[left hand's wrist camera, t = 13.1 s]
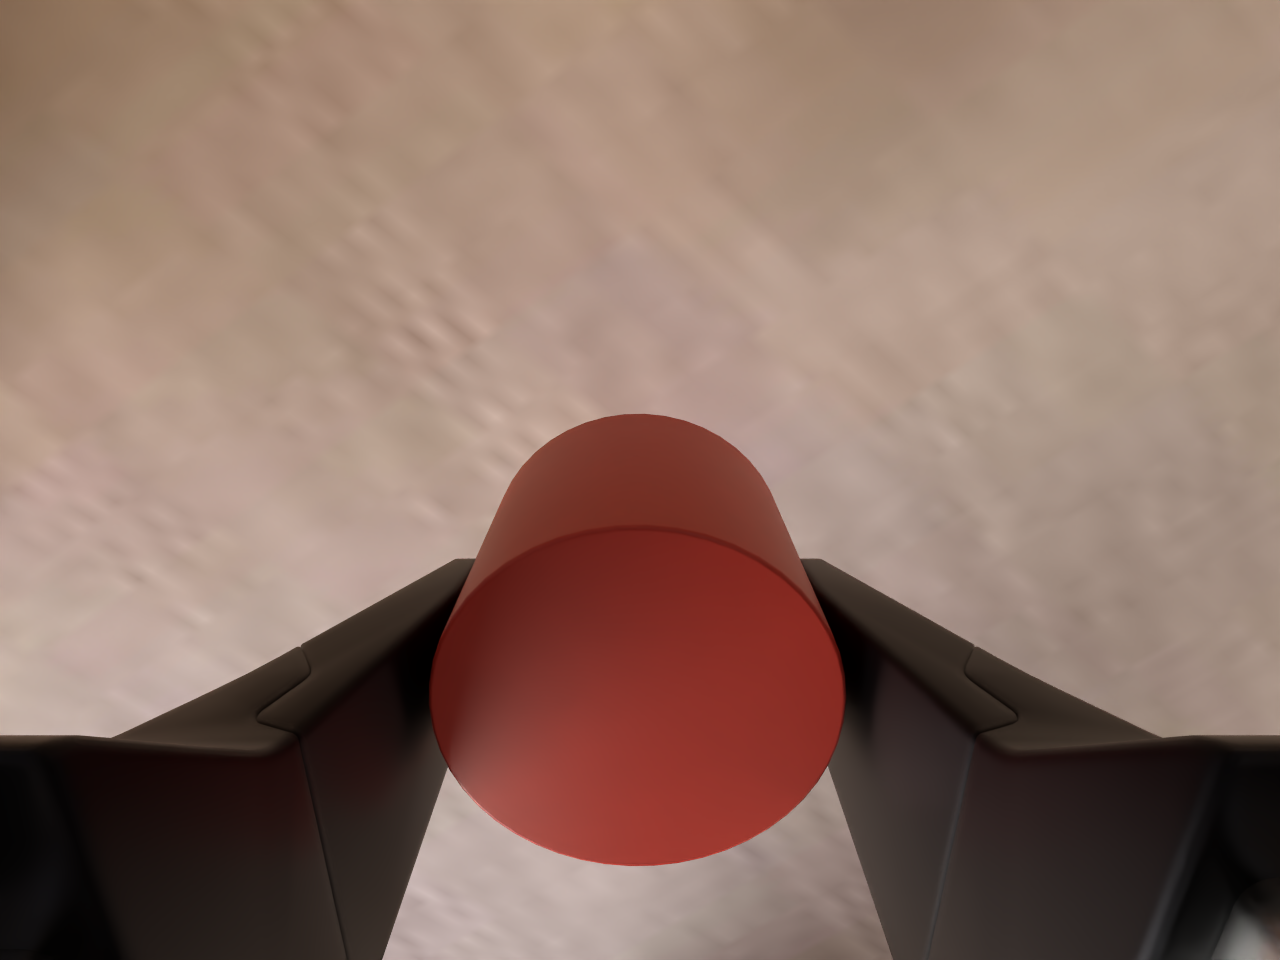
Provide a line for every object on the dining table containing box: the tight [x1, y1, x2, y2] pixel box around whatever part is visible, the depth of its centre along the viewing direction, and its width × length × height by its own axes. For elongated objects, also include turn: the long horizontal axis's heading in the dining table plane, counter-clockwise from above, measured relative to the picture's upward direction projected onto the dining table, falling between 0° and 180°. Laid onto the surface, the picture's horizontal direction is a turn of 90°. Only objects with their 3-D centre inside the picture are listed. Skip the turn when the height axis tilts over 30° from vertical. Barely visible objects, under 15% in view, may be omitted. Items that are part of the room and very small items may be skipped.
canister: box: [429, 414, 846, 866], centre depth 10 cm, size 5×5×4 cm
